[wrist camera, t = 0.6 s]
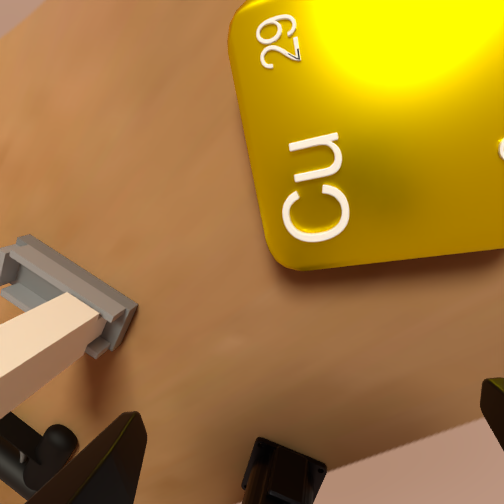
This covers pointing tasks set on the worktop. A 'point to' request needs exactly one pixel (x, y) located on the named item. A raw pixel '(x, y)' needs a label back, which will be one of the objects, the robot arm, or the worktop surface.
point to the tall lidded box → (43, 346)
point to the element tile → (373, 126)
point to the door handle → (32, 454)
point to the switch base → (62, 288)
